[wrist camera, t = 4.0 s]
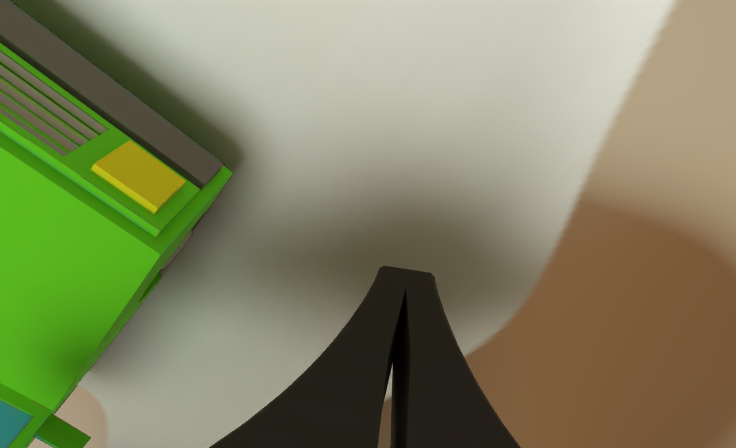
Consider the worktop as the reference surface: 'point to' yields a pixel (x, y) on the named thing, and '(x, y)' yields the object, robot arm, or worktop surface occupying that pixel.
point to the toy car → (79, 219)
